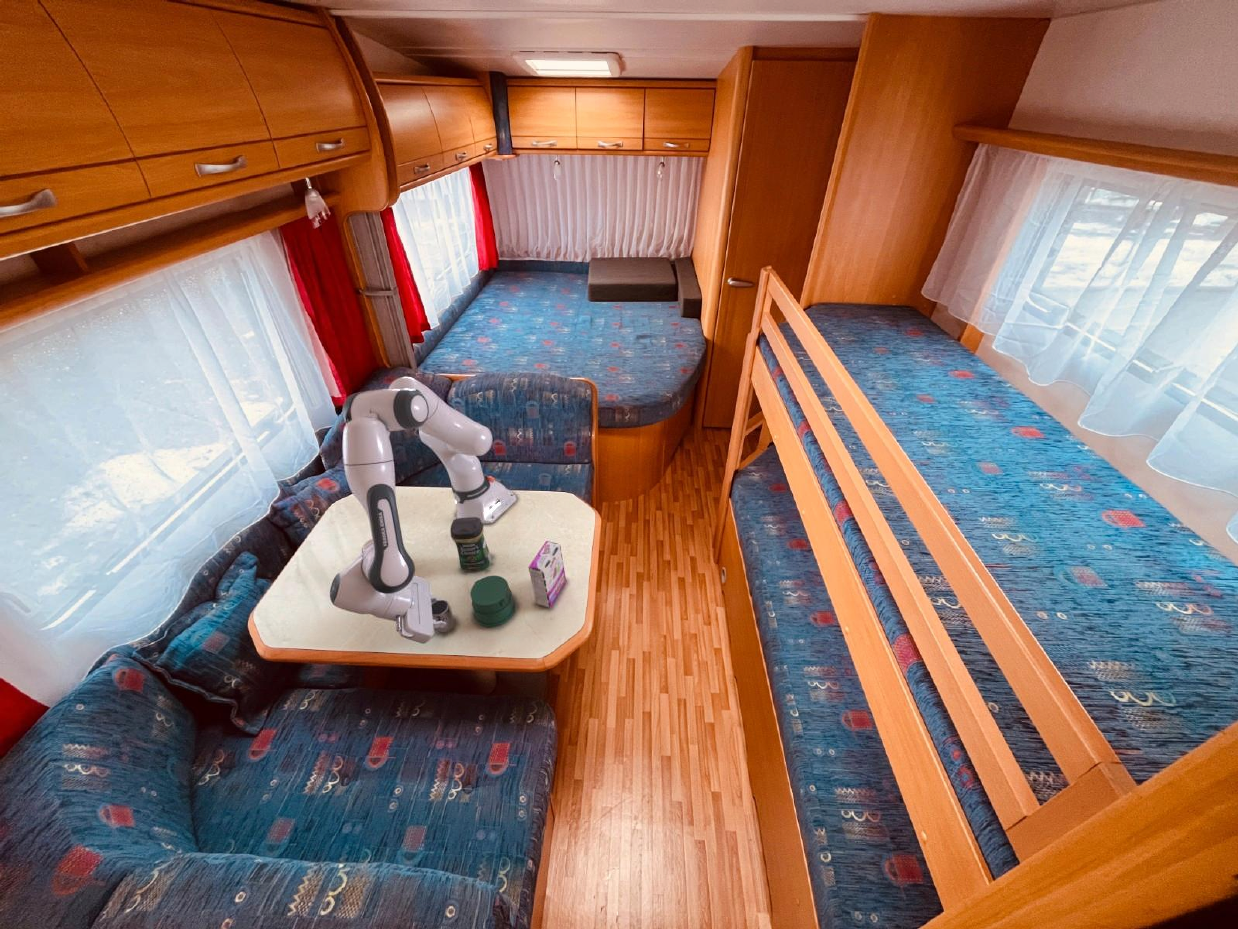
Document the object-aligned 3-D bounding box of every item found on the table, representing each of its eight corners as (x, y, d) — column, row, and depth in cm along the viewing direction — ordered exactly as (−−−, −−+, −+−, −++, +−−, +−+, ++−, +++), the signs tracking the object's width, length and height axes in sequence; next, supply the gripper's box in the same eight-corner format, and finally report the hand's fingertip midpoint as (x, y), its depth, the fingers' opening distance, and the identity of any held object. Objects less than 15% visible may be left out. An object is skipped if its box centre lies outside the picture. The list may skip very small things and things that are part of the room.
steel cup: (447, 613, 137) (441, 596, 133) (458, 622, 134) (452, 605, 130) (431, 625, 134) (424, 608, 129) (442, 635, 131) (435, 619, 126)
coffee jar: (459, 574, 150) (445, 532, 139) (464, 556, 156) (451, 514, 145) (490, 572, 150) (478, 530, 139) (493, 554, 157) (482, 512, 146)
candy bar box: (552, 576, 148) (546, 539, 138) (566, 581, 147) (561, 543, 137) (535, 604, 140) (527, 566, 130) (550, 609, 138) (543, 571, 128)
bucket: (497, 587, 145) (492, 567, 140) (524, 606, 139) (519, 586, 134) (465, 613, 138) (458, 593, 133) (492, 635, 132) (486, 615, 126)
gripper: (403, 626, 115) (454, 637, 123) (402, 567, 130) (447, 580, 139) (389, 643, 116) (440, 652, 125) (390, 583, 132) (435, 595, 140)
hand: (444, 614), depth 132 cm, fingers closed on steel cup, 5 cm apart
